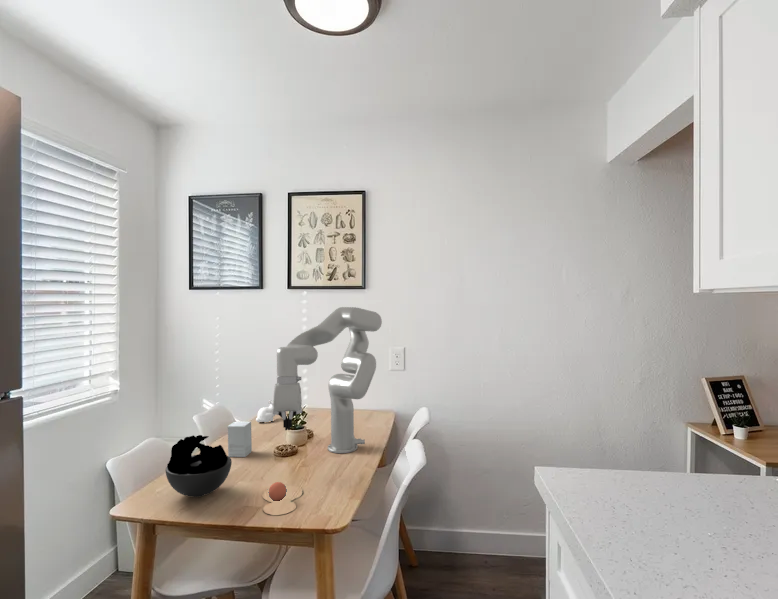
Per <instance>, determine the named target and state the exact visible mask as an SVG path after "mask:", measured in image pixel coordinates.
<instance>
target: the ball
mask: <svg viewBox="0 0 778 599" xmlns="http://www.w3.org/2000/svg"><path fill="white" fill-rule="evenodd" d="M268 489H269V492H268V493H269V497H270V498H271V499H272V500H273V501H280V500H282V499H283V498H284V497H285V496H286V492H287V489H286V486H285V484H284V483H283V482H281V481H278V482H274V483H272V484H271V485H270V486H269V488H268Z"/></svg>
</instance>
